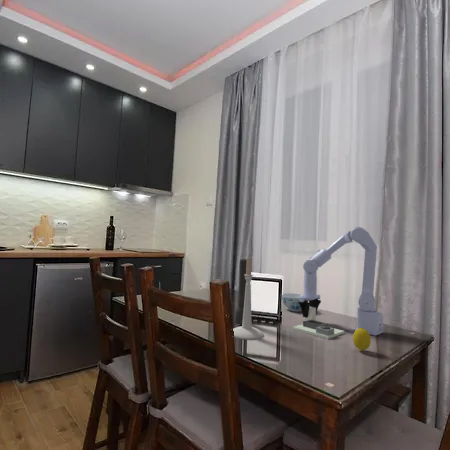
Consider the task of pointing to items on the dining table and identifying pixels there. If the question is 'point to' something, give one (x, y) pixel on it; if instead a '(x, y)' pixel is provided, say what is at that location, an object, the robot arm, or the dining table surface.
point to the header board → (312, 331)
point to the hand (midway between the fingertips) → (309, 316)
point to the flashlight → (241, 292)
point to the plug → (311, 314)
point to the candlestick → (247, 311)
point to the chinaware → (291, 301)
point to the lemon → (361, 339)
